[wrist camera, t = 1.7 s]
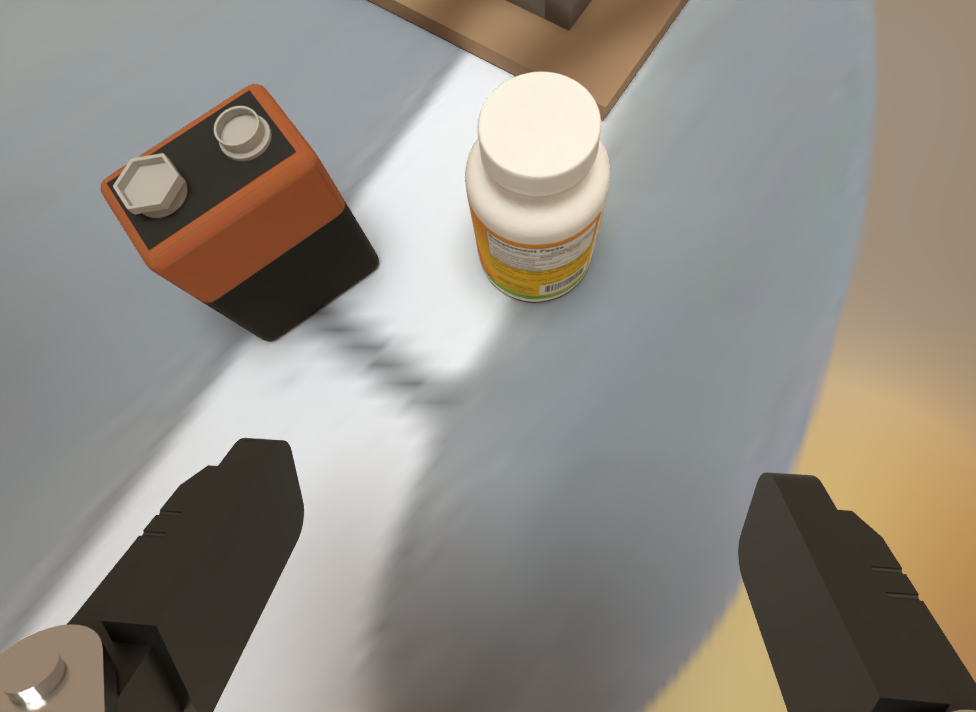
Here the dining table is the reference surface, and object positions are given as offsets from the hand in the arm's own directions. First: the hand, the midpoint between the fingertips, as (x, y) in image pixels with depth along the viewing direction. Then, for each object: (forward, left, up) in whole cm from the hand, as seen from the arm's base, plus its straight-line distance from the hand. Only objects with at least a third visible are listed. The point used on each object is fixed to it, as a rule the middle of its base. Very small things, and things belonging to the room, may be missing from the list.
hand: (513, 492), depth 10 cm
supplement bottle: (-6, +10, -15) cm, 19 cm away
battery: (-15, +3, -16) cm, 22 cm away
